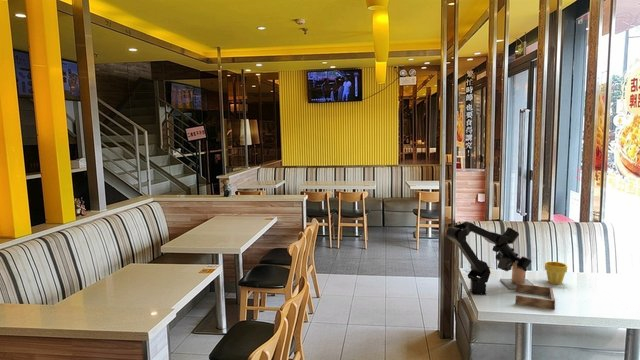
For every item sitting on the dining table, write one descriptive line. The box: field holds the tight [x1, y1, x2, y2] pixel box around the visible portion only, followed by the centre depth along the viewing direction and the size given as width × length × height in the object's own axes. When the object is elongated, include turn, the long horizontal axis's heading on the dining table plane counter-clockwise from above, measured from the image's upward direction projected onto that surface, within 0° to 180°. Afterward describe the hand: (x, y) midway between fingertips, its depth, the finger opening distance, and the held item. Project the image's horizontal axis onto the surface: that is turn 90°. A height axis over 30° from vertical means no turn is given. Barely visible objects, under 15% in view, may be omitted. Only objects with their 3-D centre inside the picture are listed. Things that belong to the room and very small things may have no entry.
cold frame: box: [514, 283, 556, 310], centre depth 204 cm, size 16×19×4 cm
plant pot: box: [544, 261, 568, 285], centre depth 227 cm, size 10×10×10 cm
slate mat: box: [499, 278, 535, 291], centre depth 224 cm, size 14×14×1 cm
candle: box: [511, 261, 527, 284], centre depth 223 cm, size 6×6×12 cm
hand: (520, 269), depth 223 cm, fingers closed on candle, 6 cm apart
